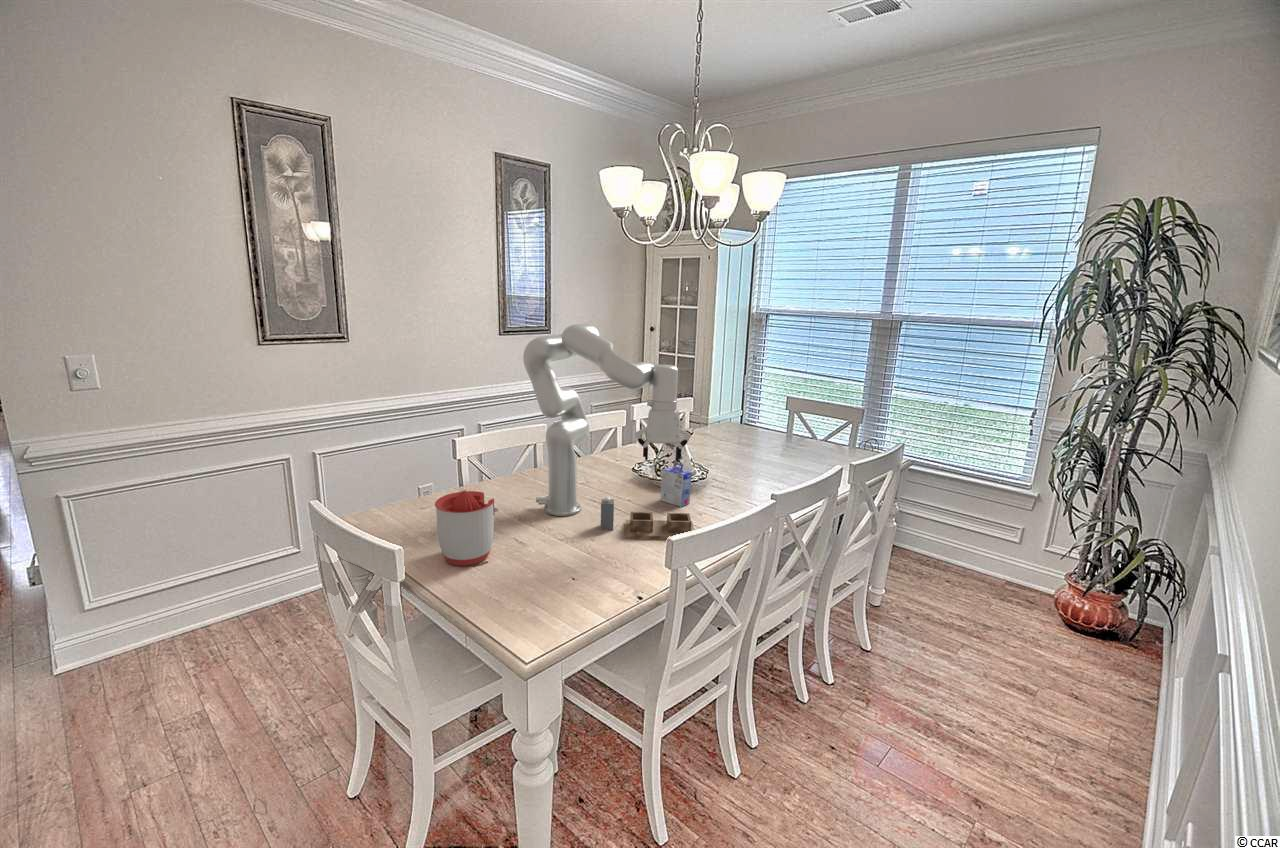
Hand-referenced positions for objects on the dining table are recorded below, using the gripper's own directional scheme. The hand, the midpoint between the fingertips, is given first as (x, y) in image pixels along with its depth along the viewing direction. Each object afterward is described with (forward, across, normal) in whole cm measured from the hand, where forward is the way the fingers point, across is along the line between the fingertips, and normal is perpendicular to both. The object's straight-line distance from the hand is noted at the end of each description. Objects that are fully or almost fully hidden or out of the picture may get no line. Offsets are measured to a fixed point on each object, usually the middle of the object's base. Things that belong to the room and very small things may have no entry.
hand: (661, 459), depth 174 cm
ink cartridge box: (+24, +8, +26) cm, 36 cm away
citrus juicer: (+24, -55, -20) cm, 63 cm away
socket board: (+24, 0, 0) cm, 24 cm away
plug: (+24, -16, +2) cm, 29 cm away
